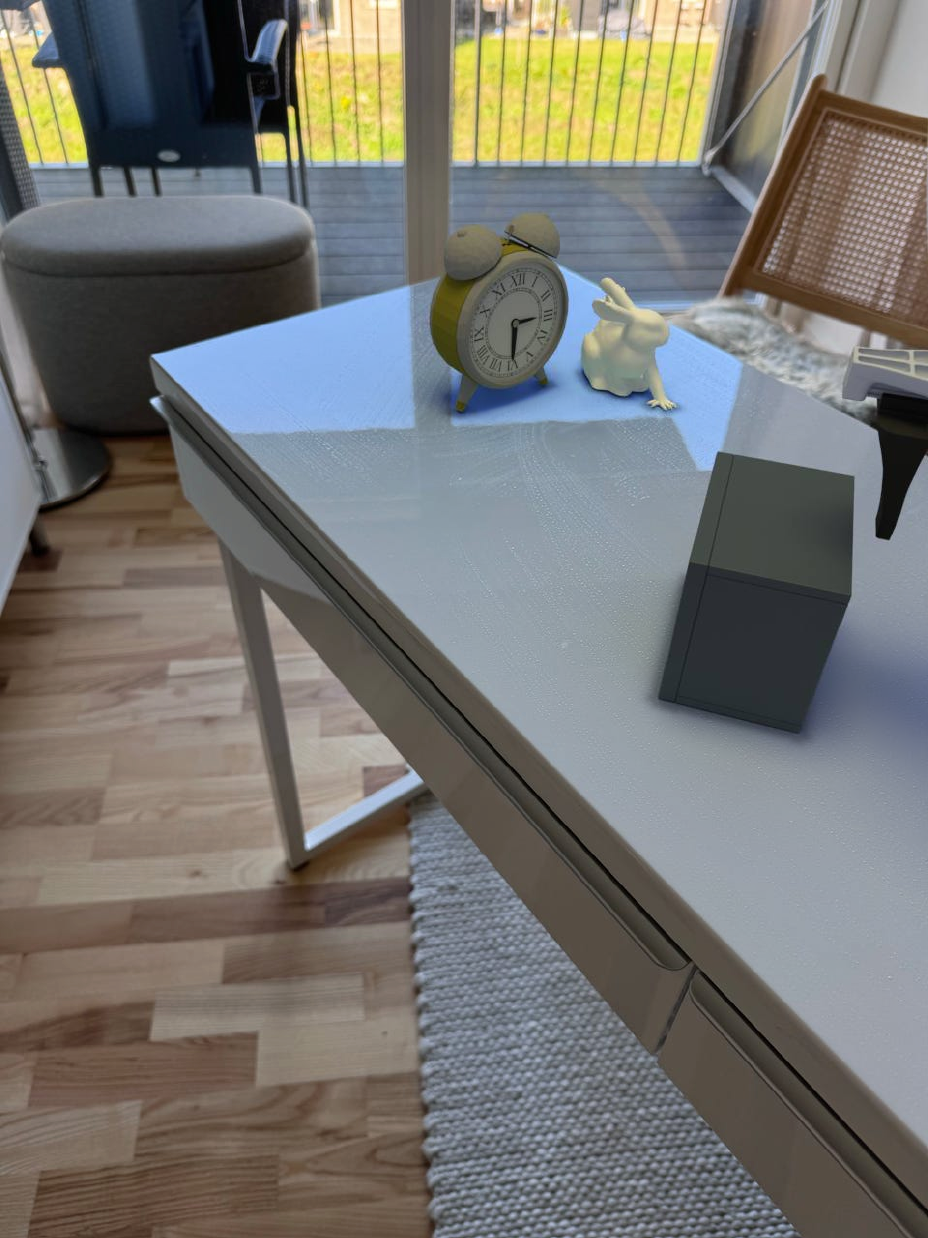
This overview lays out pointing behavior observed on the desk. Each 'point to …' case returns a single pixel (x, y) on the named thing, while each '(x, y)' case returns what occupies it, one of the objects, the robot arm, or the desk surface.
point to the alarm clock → (499, 304)
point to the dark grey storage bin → (762, 591)
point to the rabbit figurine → (624, 346)
